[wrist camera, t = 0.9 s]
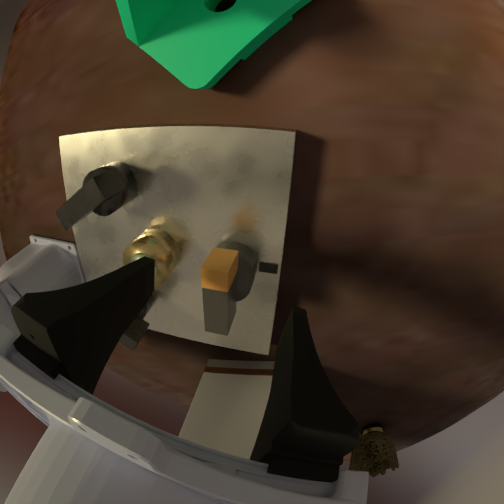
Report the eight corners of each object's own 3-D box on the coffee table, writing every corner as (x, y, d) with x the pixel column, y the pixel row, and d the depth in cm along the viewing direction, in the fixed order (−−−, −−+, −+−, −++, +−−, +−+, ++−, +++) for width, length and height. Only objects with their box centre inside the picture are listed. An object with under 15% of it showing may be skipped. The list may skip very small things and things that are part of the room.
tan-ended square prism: (255, 294, 23) (242, 338, 18) (212, 286, 23) (191, 328, 19) (260, 235, 20) (245, 275, 16) (211, 229, 21) (184, 265, 16)
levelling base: (105, 303, 31) (73, 341, 25) (73, 132, 21) (17, 150, 15) (271, 340, 28) (259, 397, 22) (296, 129, 18) (290, 141, 12)
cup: (374, 412, 32) (377, 461, 25) (404, 421, 33) (408, 465, 26) (339, 431, 36) (337, 475, 29) (370, 439, 37) (370, 479, 30)
